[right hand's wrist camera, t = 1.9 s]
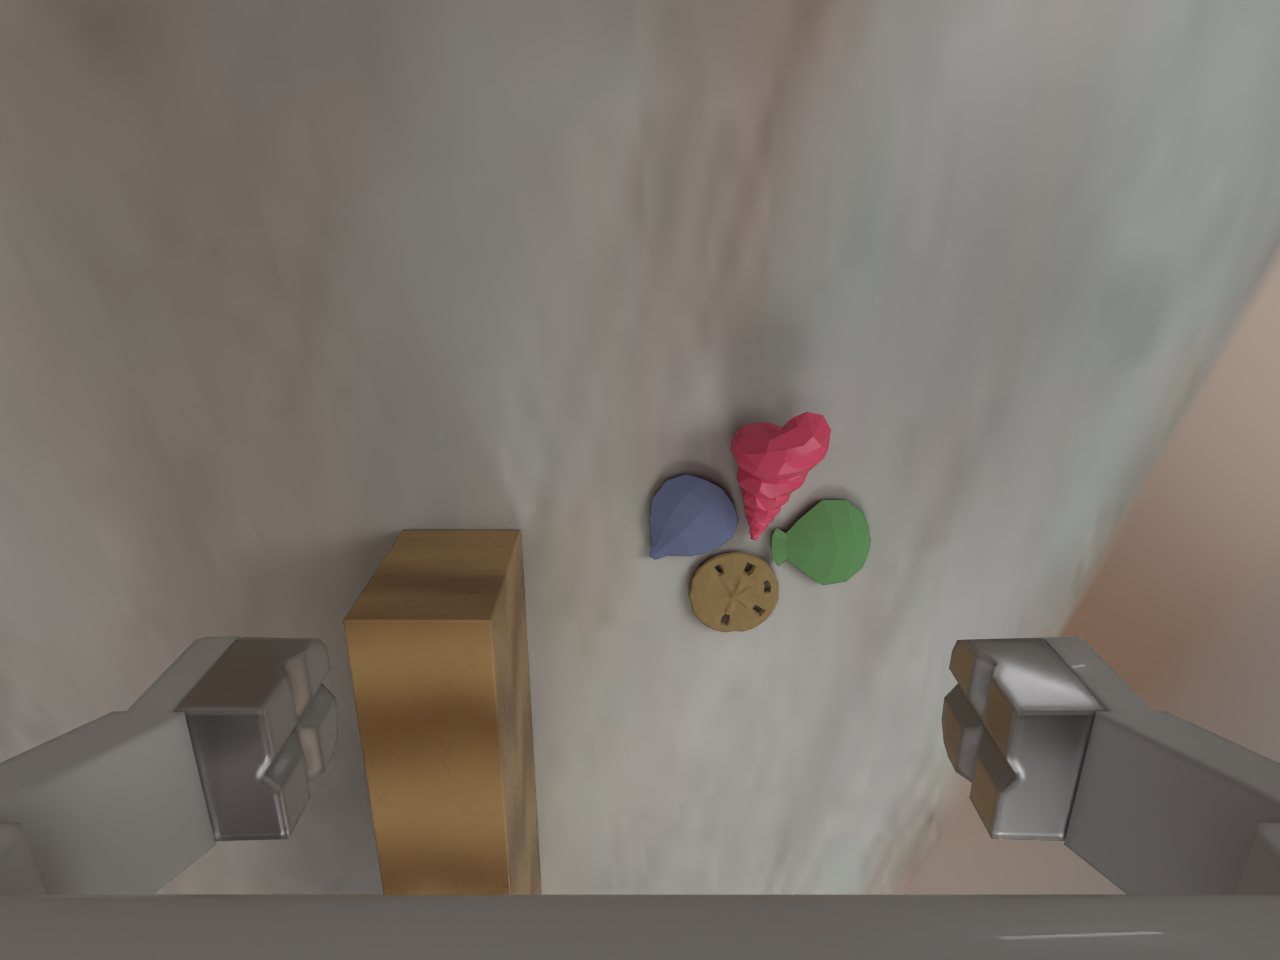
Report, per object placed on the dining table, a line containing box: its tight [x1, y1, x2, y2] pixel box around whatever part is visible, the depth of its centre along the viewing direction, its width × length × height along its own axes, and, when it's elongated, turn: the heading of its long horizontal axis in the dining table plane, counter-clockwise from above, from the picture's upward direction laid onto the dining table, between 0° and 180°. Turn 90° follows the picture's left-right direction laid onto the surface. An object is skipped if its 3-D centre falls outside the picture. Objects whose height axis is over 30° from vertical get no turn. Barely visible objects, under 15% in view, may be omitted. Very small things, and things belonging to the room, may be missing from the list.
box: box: [343, 530, 542, 895], centre depth 42 cm, size 27×6×9 cm, turn 0°
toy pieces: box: [650, 412, 871, 632], centre depth 39 cm, size 12×11×4 cm
